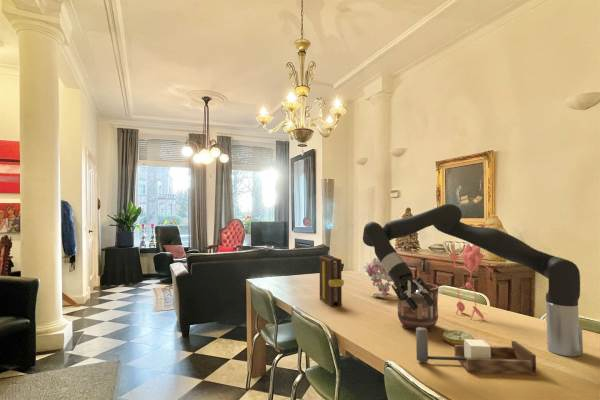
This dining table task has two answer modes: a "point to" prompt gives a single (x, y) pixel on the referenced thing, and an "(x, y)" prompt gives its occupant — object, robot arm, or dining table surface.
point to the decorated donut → (456, 337)
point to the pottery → (419, 310)
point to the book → (330, 280)
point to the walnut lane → (501, 360)
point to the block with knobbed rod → (470, 351)
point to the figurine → (471, 259)
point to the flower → (378, 276)
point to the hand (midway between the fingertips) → (424, 307)
